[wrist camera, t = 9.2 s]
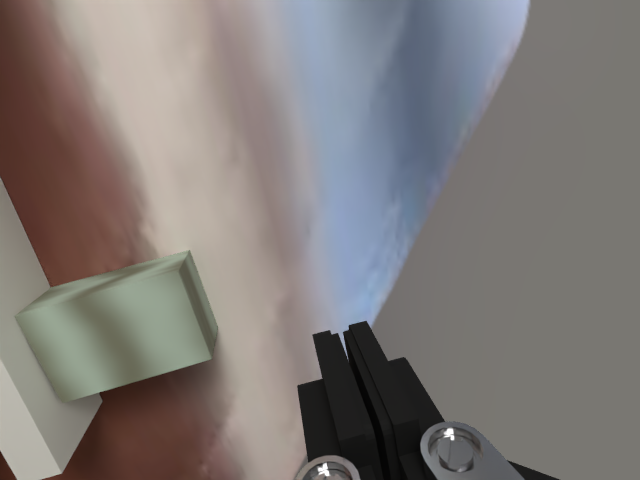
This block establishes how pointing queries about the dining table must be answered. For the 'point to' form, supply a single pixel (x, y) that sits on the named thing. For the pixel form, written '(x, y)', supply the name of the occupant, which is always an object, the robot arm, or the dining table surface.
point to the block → (121, 326)
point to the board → (30, 368)
